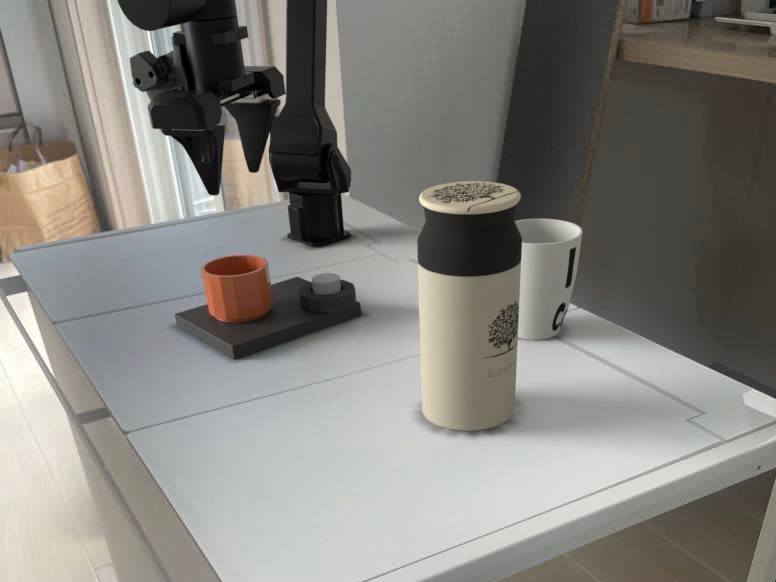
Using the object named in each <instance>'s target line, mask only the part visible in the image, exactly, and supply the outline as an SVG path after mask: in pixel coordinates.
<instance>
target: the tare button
mask: <svg viewBox="0 0 776 582" xmlns="http://www.w3.org/2000/svg"><path fill="white" fill-rule="evenodd" d="M340 280H341V276H340V275H339V274H337V273H333V272H332V273H331V272H323V273H318V274H315V275H314V276H312V277H311V282H312V286H313V293H314V294H318V295H329V294H335V293H338V292H341V283H340Z"/></svg>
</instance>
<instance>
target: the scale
mask: <svg viewBox="0 0 776 582" xmlns="http://www.w3.org/2000/svg"><path fill="white" fill-rule="evenodd" d="M340 283H341V292H338V293H335V294H329V295H318V294H314V293H313V286H312V281H309V280H307V279H304V278H302V277H299V276H295V277H292V278H288V279H285V280H282V281H279V282H276V283H271V289H272V297H273V307H272V308H271V310H269V312H268V313H267V314H266V315H265V316H263V317H261V318H259V319H256V320H252V321H248V322H239V323H231V322H223V321H220V320H218V319H216V318H215V317H214V316H212V315H210V313H209V311H208V306H207V303H206V304H202V305H200V306H197V307H196V306H195V307H193V308H190V309H187V310H183V311H180V312H176V313H174V319H175V324H176V327H177V328H179V329H181V330H183V331H185V332H186V333H188V334H189V335H191V336H193V337H195V338H196V339H198V340H200V341H202V342H203V343H204V344H207V345H208V346H210V347H212V348H214V349H215V350H217V351H219V352H221V353H222V354H224V355H226V356H228V357H229V358H231V359H232V360H237V359H240V358H244V357H246V356H248V355H252V354H254V353H257V352H260V351H263V350H266V349H268V348H271V347H275V346H277V345H280V344H282V343H286V342H289V341H292V340H295V339H297V338H301V337H303V336H306V335H308V334H311V333H315V332H317V331H321V330H324V329H326V328H329V327H332V326H335V325H337V324H340V323H344V322H346V321H349V320H352V319H355V318H358V317H360V316H362V306H361V302H359V301H357V296H356V287H355V284H354V283H353V282H350V281H348V280H346V279H340Z"/></svg>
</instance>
